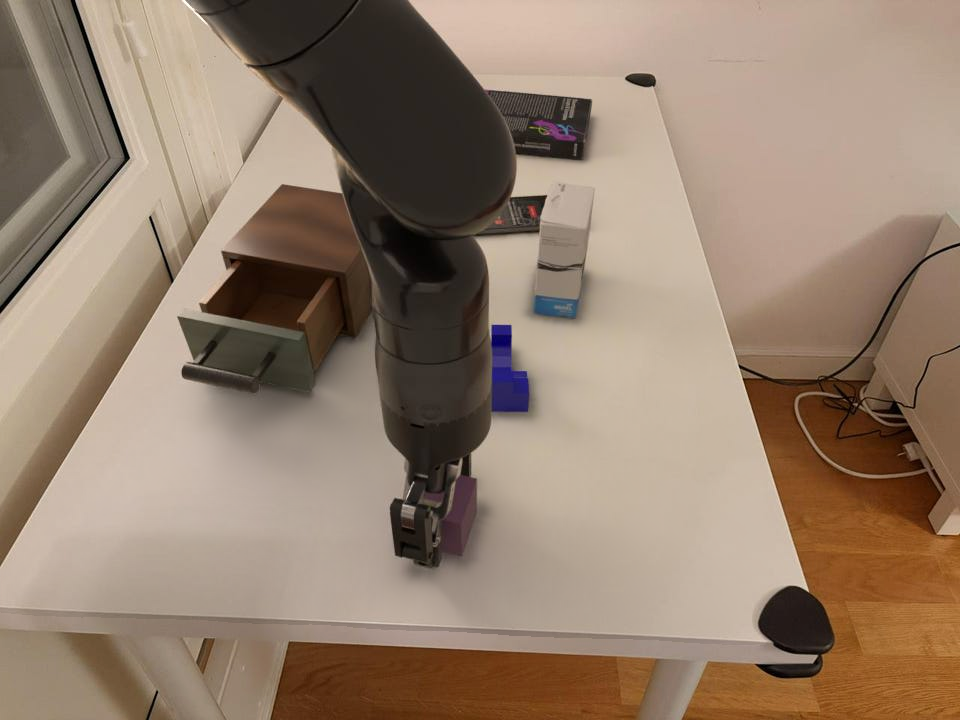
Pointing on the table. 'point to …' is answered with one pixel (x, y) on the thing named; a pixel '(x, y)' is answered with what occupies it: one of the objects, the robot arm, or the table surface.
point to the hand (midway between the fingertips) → (443, 517)
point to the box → (545, 122)
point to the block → (458, 515)
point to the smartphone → (519, 215)
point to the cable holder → (506, 374)
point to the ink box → (562, 249)
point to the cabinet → (308, 244)
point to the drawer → (263, 328)
